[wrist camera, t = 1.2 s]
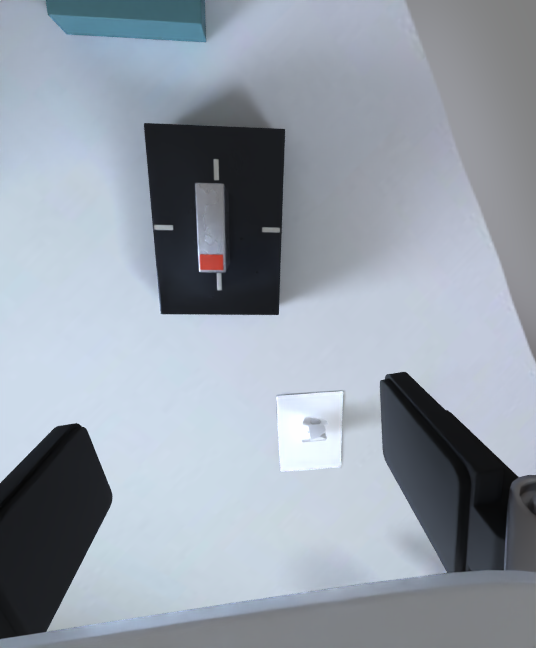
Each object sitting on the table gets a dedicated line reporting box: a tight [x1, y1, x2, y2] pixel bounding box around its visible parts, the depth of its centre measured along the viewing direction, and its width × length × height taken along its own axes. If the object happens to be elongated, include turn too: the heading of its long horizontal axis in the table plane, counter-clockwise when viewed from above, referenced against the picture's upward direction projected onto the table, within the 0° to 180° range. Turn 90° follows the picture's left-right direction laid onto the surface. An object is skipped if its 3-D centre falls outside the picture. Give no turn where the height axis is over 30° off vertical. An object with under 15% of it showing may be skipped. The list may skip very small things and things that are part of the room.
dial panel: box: [144, 123, 285, 315], centre depth 25 cm, size 14×10×3 cm
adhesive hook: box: [300, 416, 329, 444], centre depth 32 cm, size 3×3×3 cm
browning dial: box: [195, 183, 230, 273], centre depth 22 cm, size 6×2×5 cm, turn 179°
